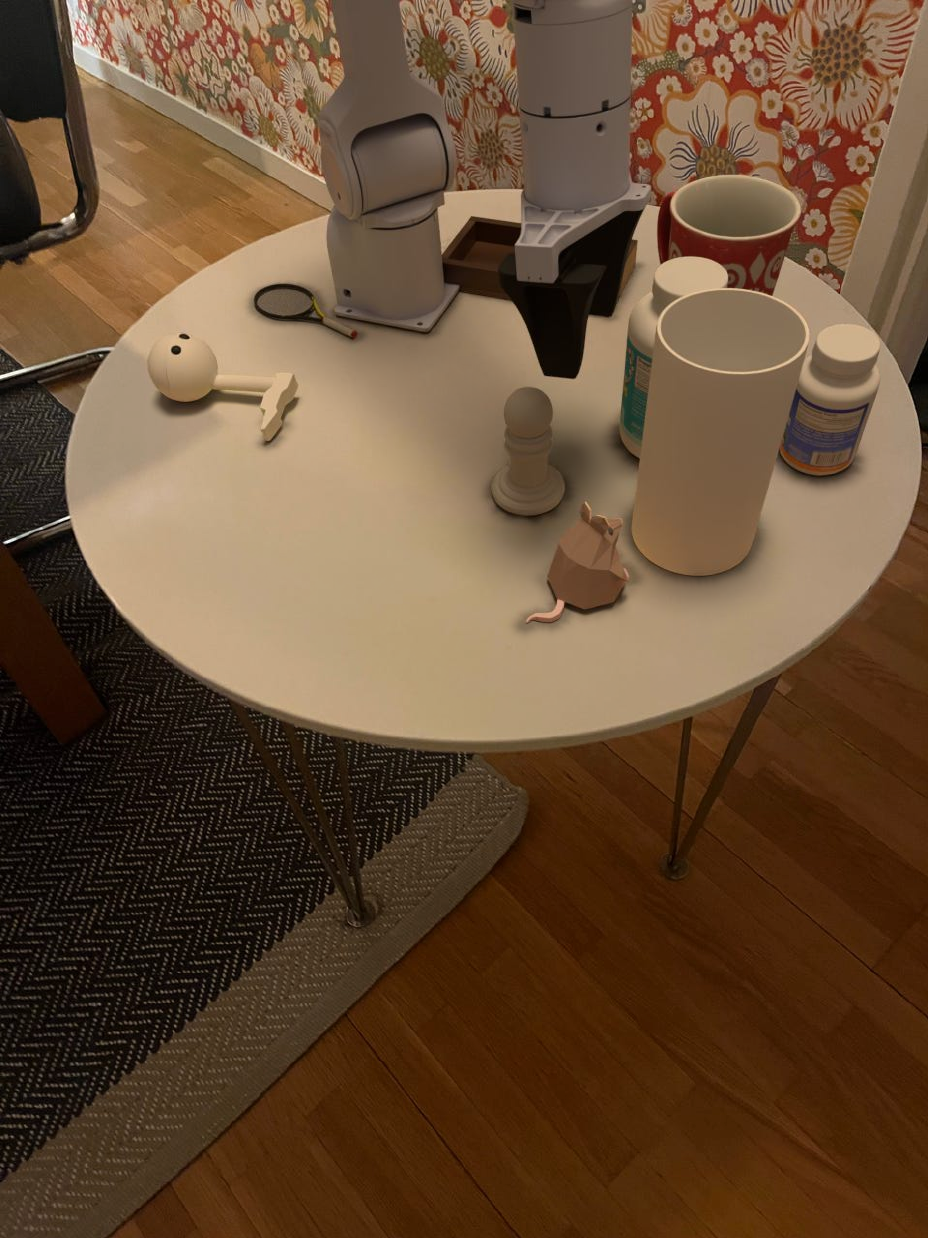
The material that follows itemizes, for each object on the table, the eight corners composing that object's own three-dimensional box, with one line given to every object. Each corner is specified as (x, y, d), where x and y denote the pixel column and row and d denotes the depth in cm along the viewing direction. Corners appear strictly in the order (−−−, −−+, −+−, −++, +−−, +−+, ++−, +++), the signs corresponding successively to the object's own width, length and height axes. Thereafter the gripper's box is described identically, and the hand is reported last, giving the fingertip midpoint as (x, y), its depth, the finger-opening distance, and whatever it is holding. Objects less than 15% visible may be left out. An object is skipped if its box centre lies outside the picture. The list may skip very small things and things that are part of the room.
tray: (608, 316, 78) (610, 289, 76) (438, 287, 82) (435, 261, 80) (635, 266, 82) (637, 239, 80) (472, 241, 87) (471, 215, 85)
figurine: (150, 315, 72) (287, 321, 69) (178, 366, 76) (307, 372, 74) (112, 389, 68) (255, 397, 65) (143, 437, 73) (278, 447, 70)
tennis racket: (240, 298, 82) (280, 274, 84) (242, 305, 82) (282, 281, 85) (332, 344, 76) (373, 317, 78) (334, 351, 77) (374, 324, 79)
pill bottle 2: (798, 418, 67) (826, 306, 60) (867, 443, 65) (906, 330, 57) (764, 460, 65) (789, 349, 57) (835, 488, 63) (870, 376, 55)
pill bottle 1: (647, 396, 70) (667, 233, 60) (734, 427, 67) (771, 262, 57) (599, 449, 67) (612, 286, 56) (688, 484, 64) (719, 319, 53)
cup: (725, 593, 57) (779, 391, 45) (611, 548, 61) (631, 347, 48) (770, 514, 62) (831, 309, 49) (661, 476, 65) (691, 274, 52)
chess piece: (574, 510, 63) (579, 408, 56) (501, 525, 63) (497, 424, 55) (553, 462, 66) (555, 360, 59) (484, 475, 66) (478, 374, 59)
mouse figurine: (500, 599, 58) (497, 528, 53) (591, 542, 61) (596, 468, 56) (552, 648, 56) (554, 577, 50) (644, 585, 58) (655, 512, 53)
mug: (785, 382, 70) (829, 217, 60) (684, 413, 69) (712, 249, 58) (702, 302, 78) (729, 143, 68) (610, 329, 76) (623, 170, 66)
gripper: (611, 152, 39) (610, 413, 49) (684, 55, 48) (671, 293, 58) (466, 149, 42) (492, 399, 52) (561, 58, 51) (568, 285, 60)
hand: (580, 342), depth 55 cm, fingers open, 7 cm apart
